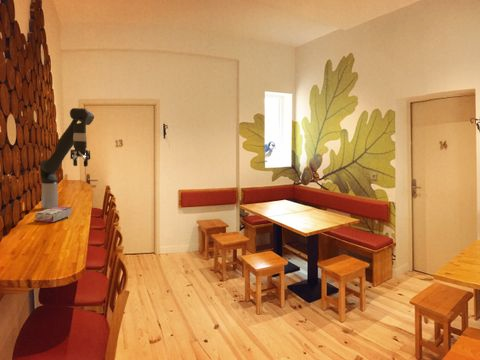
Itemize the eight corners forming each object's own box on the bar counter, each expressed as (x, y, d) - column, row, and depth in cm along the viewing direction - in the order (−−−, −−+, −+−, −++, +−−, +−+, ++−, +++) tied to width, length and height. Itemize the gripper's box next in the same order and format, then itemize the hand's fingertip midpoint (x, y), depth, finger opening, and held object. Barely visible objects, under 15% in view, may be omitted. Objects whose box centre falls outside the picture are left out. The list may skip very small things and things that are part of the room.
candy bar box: (55, 214, 206) (35, 221, 190) (55, 206, 205) (34, 212, 189) (72, 215, 204) (53, 222, 188) (71, 207, 203) (52, 213, 187)
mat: (34, 220, 193) (34, 218, 193) (54, 216, 205) (54, 214, 205) (48, 222, 189) (48, 220, 189) (67, 218, 201) (67, 216, 201)
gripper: (93, 140, 214) (93, 166, 216) (76, 140, 220) (76, 165, 221) (83, 140, 207) (84, 167, 209) (66, 140, 213) (67, 165, 214)
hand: (80, 166), depth 215 cm, fingers open, 8 cm apart
